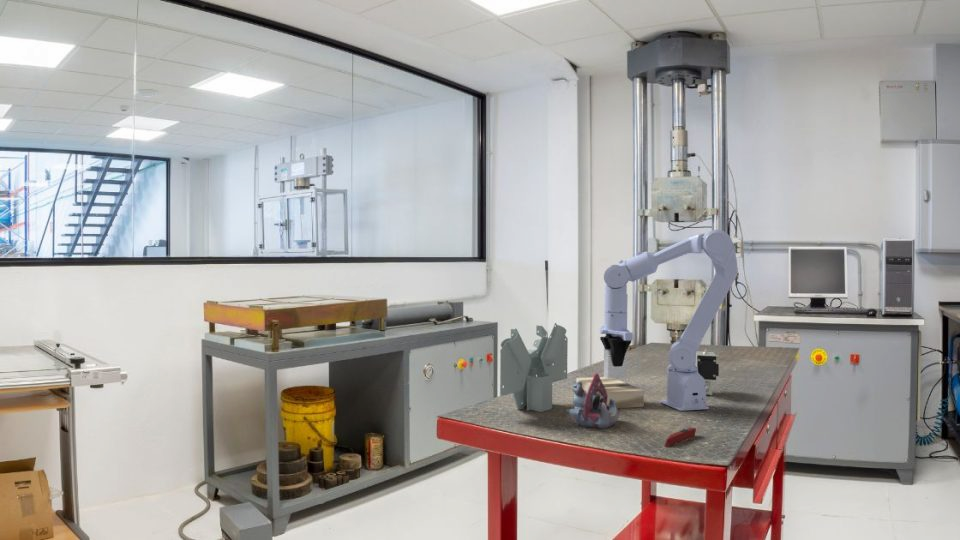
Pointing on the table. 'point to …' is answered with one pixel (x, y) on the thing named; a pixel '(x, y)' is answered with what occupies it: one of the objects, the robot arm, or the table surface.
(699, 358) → the pneumatic valve
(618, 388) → the light wood flat block
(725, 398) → the table surface
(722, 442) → the table surface
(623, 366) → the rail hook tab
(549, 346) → the bracket
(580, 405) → the grey red figurine
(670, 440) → the utility knife
